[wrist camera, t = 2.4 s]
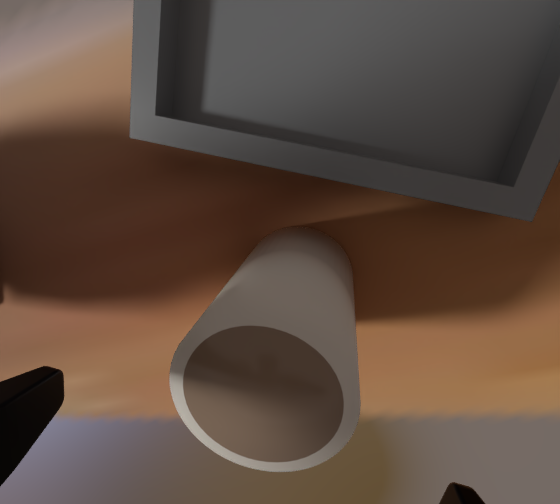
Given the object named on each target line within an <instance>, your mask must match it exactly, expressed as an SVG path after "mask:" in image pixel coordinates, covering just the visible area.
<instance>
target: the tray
mask: <svg viewBox="0 0 560 504" xmlns="http://www.w3.org/2000/svg"><path fill="white" fill-rule="evenodd" d="M130 138H133V139H138V140H142V141H147V142H152V143H157V144H162V145H166V146H171V147H176V148H181V149H186V150H190V151H195V152H200V153H205V154H209V155H214V156H219V157H224V158H229V159H233V160H238V161H243V162H248V163H252V164H257V165H262V166H267V167H272V168H276V169H281V170H286V171H291V172H296V173H300V174H305V175H310V176H315V177H319V178H324V179H329V180H334V181H339V182H343V183H348V184H353V185H358V186H363V187H367V188H372V189H377V190H382V191H386V192H391V193H396V194H401V195H406V196H410V197H415V198H420V199H425V200H430V201H434V202H439V203H444V204H449V205H453V206H458V207H463V208H468V209H473V210H477V211H482V212H487V213H492V214H496V215H501V216H506V217H511V218H516V219H520V220H525V221H530V222H532V221H533V218H534V216H535V214H536V212H537V209H538V207H539V205H540V203H541V200H542V198H543V196H544V194H545V192H546V189H547V187H548V185H549V183H550V180H551V178H552V176H553V174H554V171H555V169H556V167H557V165H558V163H559V160H560V0H134V9H133V42H132V74H131V107H130Z"/></svg>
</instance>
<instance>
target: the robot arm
mask: <svg viewBox="0 0 560 504" xmlns="http://www.w3.org/2000/svg"><path fill="white" fill-rule="evenodd" d="M63 400H64V376H63V372H62V371H61V370H59V369H56V368H52V367H48V366H43V367H40V368H37V369H34V370H32V371H29V372H26V373H23V374H21V375H18V376H15V377H12V378H10V379H7V380H4V381H1V382H0V486H1V485H2V484H3V483H4V482H5V480H6V479H7V478H8V477H9V475H10V474H11V473H12V472H13V471H14V469H15V468H16V467H17V466H18V464H19V463H20V461H21V460H22V459H23V458H24V456H25V455H26V454H27V452H28V451H29V449H30V448H31V447H32V445H33V444H34V443H35V441H36V440H37V439H38V437H39V436H40V435H41V433H42V432H43V430H44V429H45V428H46V426H47V425H48V424H49V422H50V421H51V420H52V418H53V417H54V415H55V414H56V413H57V411H58V410H59V409H60V407H61V405H62V403H63ZM439 504H485V503H484V502H483V500H482V499H481V498H480V497H479V495H478V494H477V493H476V492H475V491H474V490H473V489H472V488H471V487H469V486H465V485H462V484H458V483H455V482H452V483H450V484H449V485H448V487H447V489H446V491H445V493H444V495H443V497H442V499H441V501H440V503H439Z"/></svg>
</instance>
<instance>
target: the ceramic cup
mask: <svg viewBox="0 0 560 504" xmlns="http://www.w3.org/2000/svg"><path fill="white" fill-rule="evenodd" d="M170 389H171V394H172V398H173V402H174V404H175V407H176V409H177V411H178V413H179V415H180V417H181V418H182V420H183V422H184V423H185V424H186V426H187V427H188V428H189V430H190V431H191V432H192V433H193V434H194V435H195V436H196V437H197V438H198V439H199V440H200V441H201V442H202V443H203V444H204V445H206V446H207V447H208V448H210V449H211V450H213V451H214V452H215V453H217V454H219V455H220V456H222V457H224V458H226V459H228V460H230V461H232V462H234V463H237V464H240V465H243V466H245V467H249V468H253V469H257V470H263V471H271V472H290V471H297V470H303V469H307V468H310V467H313V466H316V465H318V464H320V463H323V462H325V461H326V460H328V459H330V458H331V457H333V456H334V455H335V454H337V453H338V452H339V451H340V450H341V449H342V448H343V447H344V446H345V445H346V444H347V443H348V441H349V439H350V438H351V436H352V435H353V433H354V431H355V428H356V426H357V423H358V419H359V415H360V388H359V371H358V354H357V337H356V320H355V303H354V287H353V272H352V267H351V264H350V261H349V258H348V257H347V255H346V253H345V251H344V250H343V249H342V247H341V246H340V245H339V244H338V243H337V242H336V241H335V240H334V239H332V238H331V237H330V236H328V235H326V234H325V233H323V232H320V231H318V230H315V229H312V228H308V227H296V226H295V227H287V228H282V229H279V230H277V231H274V232H272V233H270V234H269V235H267V236H266V237H265V238H263V239H262V240H261V241H260V242H259V243H258V244H257V246H256V247H255V248H254V249H253V251H252V252H251V253H250V255H249V256H248V257H247V258H246V260H245V261H244V262H243V263H242V265H241V266H240V267H239V269H238V270H237V271H236V272H235V274H234V275H233V276H232V278H231V279H230V280H229V281H228V283H227V284H226V285H225V286H224V288H223V289H222V290H221V292H220V293H219V294H218V295H217V297H216V298H215V299H214V300H213V302H212V303H211V304H210V306H209V307H208V308H207V309H206V311H205V312H204V313H203V315H202V316H201V317H200V318H199V320H198V321H197V322H196V323H195V325H194V326H193V327H192V329H191V330H190V331H189V332H188V334H187V335H186V336H185V338H184V339H183V340H182V341H181V343H180V344H179V346H178V348H177V350H176V351H175V353H174V356H173V359H172V362H171V368H170Z"/></svg>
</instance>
